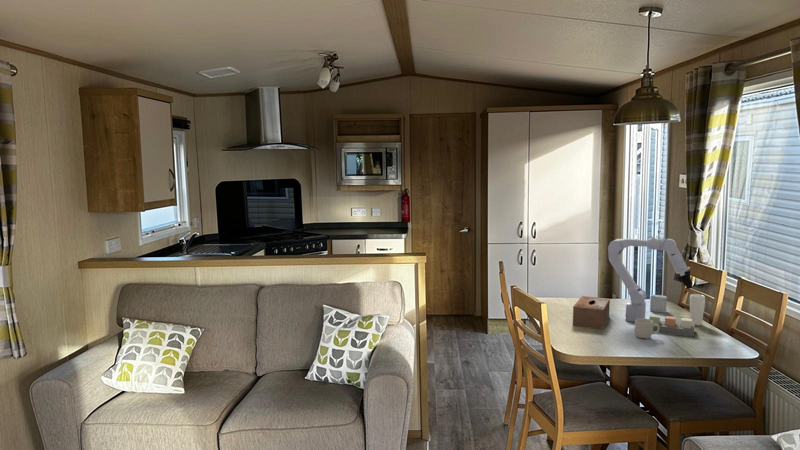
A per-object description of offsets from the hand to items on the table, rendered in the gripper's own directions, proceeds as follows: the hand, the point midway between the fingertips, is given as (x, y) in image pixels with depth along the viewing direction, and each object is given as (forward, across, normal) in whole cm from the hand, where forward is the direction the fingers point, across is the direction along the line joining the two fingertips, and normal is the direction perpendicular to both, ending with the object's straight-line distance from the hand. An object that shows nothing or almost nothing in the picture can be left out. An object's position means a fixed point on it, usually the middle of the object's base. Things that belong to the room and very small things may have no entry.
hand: (690, 287), depth 281 cm
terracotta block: (+13, -9, +15) cm, 22 cm away
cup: (+12, -26, +25) cm, 38 cm away
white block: (+16, -9, +9) cm, 21 cm away
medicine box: (+10, +28, +23) cm, 38 cm away
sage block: (+10, -9, +21) cm, 25 cm away
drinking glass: (+20, +9, +6) cm, 23 cm away
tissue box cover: (-1, -9, +50) cm, 50 cm away
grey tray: (+15, -9, +16) cm, 24 cm away
